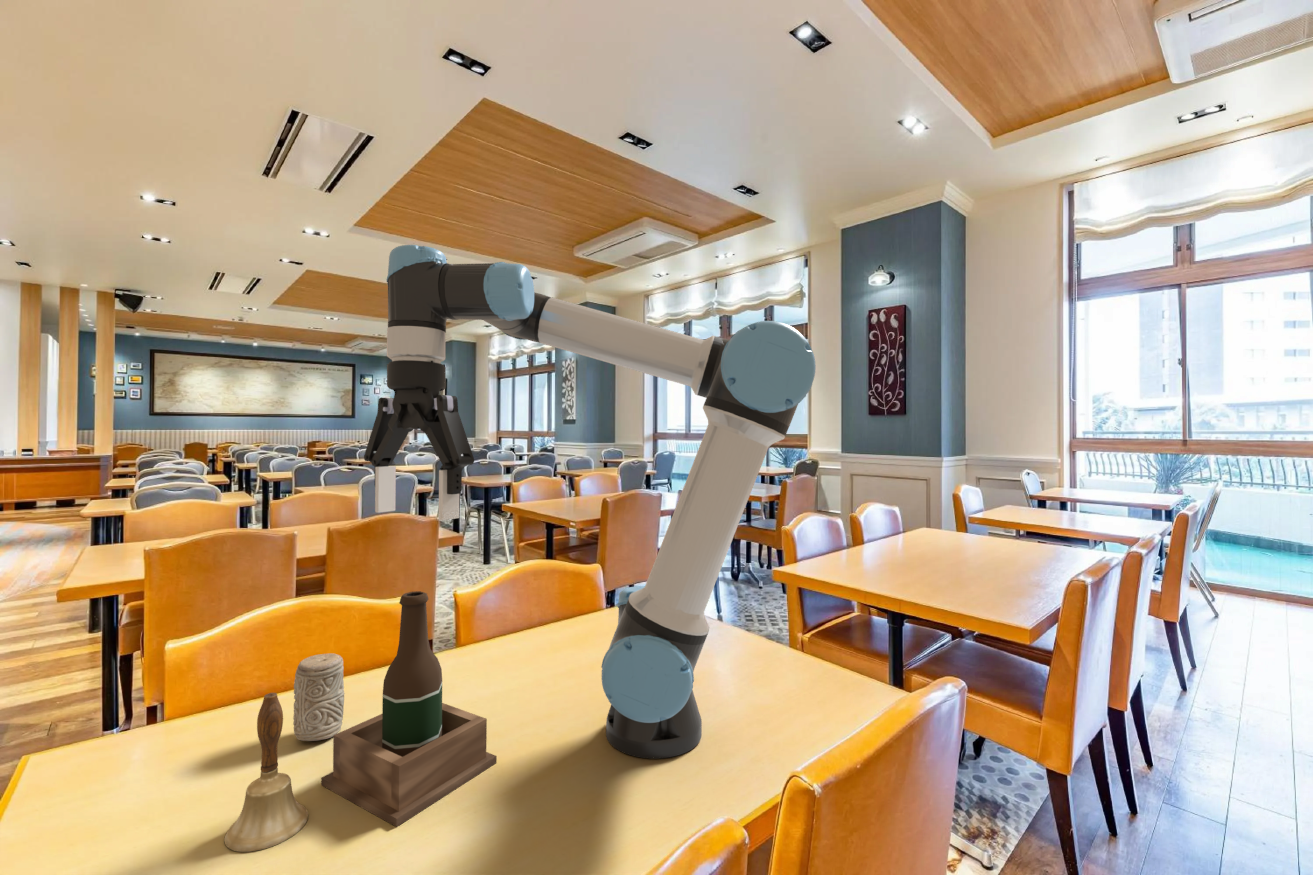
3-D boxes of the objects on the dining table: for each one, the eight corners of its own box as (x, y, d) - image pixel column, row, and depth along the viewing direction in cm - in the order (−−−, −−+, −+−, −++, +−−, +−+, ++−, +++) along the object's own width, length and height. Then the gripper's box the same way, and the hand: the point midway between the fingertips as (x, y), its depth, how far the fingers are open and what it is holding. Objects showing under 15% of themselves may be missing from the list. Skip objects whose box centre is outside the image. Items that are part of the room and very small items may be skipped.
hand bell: (322, 805, 73) (323, 679, 73) (282, 852, 65) (283, 710, 65) (255, 805, 73) (256, 679, 73) (206, 853, 65) (207, 711, 65)
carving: (353, 724, 93) (354, 650, 93) (322, 749, 86) (323, 669, 86) (316, 722, 94) (317, 649, 94) (282, 747, 86) (283, 667, 86)
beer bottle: (421, 786, 76) (423, 603, 76) (368, 779, 77) (370, 599, 77) (453, 754, 83) (454, 588, 83) (404, 748, 85) (406, 584, 85)
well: (496, 762, 83) (496, 717, 83) (396, 826, 69) (397, 772, 69) (423, 732, 91) (423, 691, 91) (321, 784, 77) (321, 736, 77)
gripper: (502, 359, 77) (500, 518, 77) (385, 369, 90) (384, 506, 90) (456, 352, 71) (455, 526, 71) (338, 364, 83) (337, 511, 83)
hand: (415, 515), depth 80 cm, fingers open, 13 cm apart
